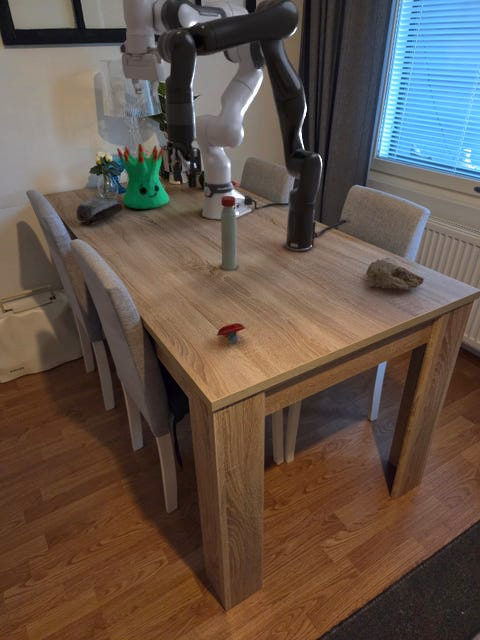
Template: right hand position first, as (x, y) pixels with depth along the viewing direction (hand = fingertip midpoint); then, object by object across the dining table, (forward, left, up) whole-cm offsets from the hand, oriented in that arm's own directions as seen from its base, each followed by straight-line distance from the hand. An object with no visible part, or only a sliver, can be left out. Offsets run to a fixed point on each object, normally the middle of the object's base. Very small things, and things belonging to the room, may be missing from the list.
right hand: (184, 184), depth 124 cm
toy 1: (-21, -78, -29) cm, 86 cm away
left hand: (-10, -43, +19) cm, 48 cm away
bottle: (-15, 0, -29) cm, 33 cm away
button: (+9, +36, -29) cm, 47 cm away
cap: (-15, 0, -7) cm, 16 cm away
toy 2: (-60, -82, -29) cm, 106 cm away
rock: (+4, -68, -29) cm, 74 cm away
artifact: (-49, +37, -29) cm, 68 cm away
